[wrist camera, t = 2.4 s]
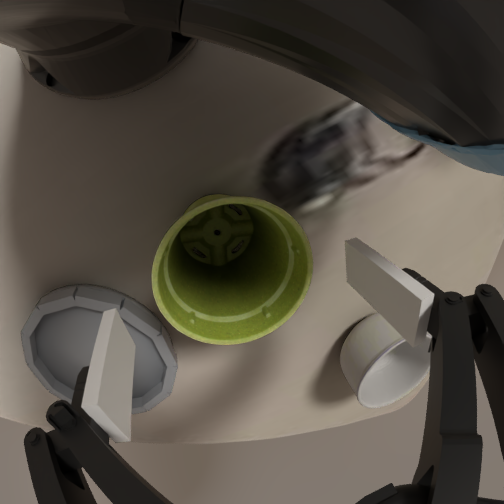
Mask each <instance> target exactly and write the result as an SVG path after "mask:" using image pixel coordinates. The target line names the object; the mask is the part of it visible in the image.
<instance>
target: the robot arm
mask: <svg viewBox="0 0 504 504" xmlns="http://www.w3.org/2000/svg"><path fill="white" fill-rule="evenodd" d="M198 39H200V40H203V41H207V42H211V43H214V44H218V45H221V46H225V47H228V48H231V49H235V50H238V51H241V52H244V53H247V54H250V55H253V56H256V57H258V58H261V59H264V60H267V61H269V62H272V63H275V64H277V65H280V66H282V67H285V68H287V69H290V70H292V71H295V72H297V73H299V74H302V75H304V76H306V77H309V78H311V79H313V80H315V81H317V82H320V83H322V84H324V85H326V86H328V87H330V88H332V89H334V90H336V91H338V92H339V93H341V94H343V95H345V96H347V97H349V98H351V99H352V100H354V101H356V102H358V103H360V104H361V105H363V106H365V107H366V108H368V109H370V111H371V112H372V113H373V114H374V115H375V116H377V117H378V118H379V119H380V120H382V121H383V122H385V123H387V124H388V125H390V126H391V127H392V128H393V129H395V130H397V131H398V132H399V133H401V134H403V135H405V136H407V137H409V138H411V139H414V140H417V141H420V142H422V143H425V144H428V145H431V146H433V147H434V148H436V149H437V150H439V151H440V152H442V153H444V154H445V155H447V156H448V157H450V158H452V159H454V160H455V161H457V162H459V163H461V164H463V165H465V166H468V167H471V168H473V169H476V170H480V171H483V172H486V173H493V174H497V175H501V176H504V0H0V43H2V44H4V45H7V46H10V47H12V48H16V50H17V52H18V54H19V56H20V58H21V60H22V61H23V63H24V65H25V67H26V69H27V70H28V72H29V73H30V74H31V75H32V77H33V78H34V79H35V80H37V81H38V82H39V83H40V84H42V85H43V86H44V87H46V88H48V89H50V90H52V91H54V92H57V93H59V94H63V95H67V96H71V97H75V98H81V99H104V98H111V97H116V96H120V95H124V94H127V93H130V92H133V91H135V90H138V89H140V88H142V87H144V86H146V85H148V84H150V83H152V82H154V81H156V80H157V79H159V78H160V77H162V76H163V75H165V74H166V73H168V72H169V71H170V70H171V69H173V68H174V67H175V66H176V65H177V64H178V63H179V62H180V61H181V60H182V59H183V58H184V57H185V56H186V55H187V54H188V53H189V52H190V50H191V49H192V48H193V47H194V45H195V44H196V42H197V41H198ZM345 251H346V272H347V282H348V283H349V284H350V285H351V286H352V287H353V288H354V289H355V290H356V291H357V292H358V293H359V294H360V295H361V296H362V297H363V298H364V299H365V300H366V301H367V302H368V303H369V304H370V305H371V306H372V307H373V308H374V309H375V310H376V311H377V312H378V313H379V314H380V315H381V316H382V317H383V318H384V319H385V320H386V321H387V322H388V323H389V324H390V325H391V326H392V327H393V328H394V329H395V330H396V331H397V332H398V333H399V334H400V335H401V336H402V337H403V338H404V339H405V340H406V341H407V342H408V343H409V344H410V345H411V346H412V347H415V346H417V345H419V344H421V343H422V342H424V341H425V339H426V334H427V332H428V333H429V334H431V335H432V338H431V342H430V346H429V349H428V352H429V353H430V377H429V392H428V403H427V413H426V421H425V429H424V436H423V442H422V449H421V454H420V459H419V464H418V467H417V470H416V472H415V475H414V478H413V481H412V484H406V485H399V486H395V487H394V486H393V484H392V483H390V484H388V485H386V486H385V487H383V488H381V489H379V490H377V491H375V492H373V493H371V494H369V495H367V496H365V497H364V498H362V499H361V500H360V501H358V502H357V503H356V504H504V501H502V500H494V499H487V498H480V497H478V490H479V482H480V473H481V462H482V446H483V443H482V437H481V435H478V434H477V397H476V396H477V395H476V376H475V364H474V360H475V362H476V365H477V368H478V370H479V373H480V376H481V379H482V382H483V385H484V388H485V391H486V394H487V398H488V401H489V404H490V408H491V411H492V414H493V418H494V422H495V426H496V430H497V434H498V438H499V443H500V447H501V452H502V456H503V459H504V300H503V298H502V297H501V295H500V294H499V292H498V291H497V290H496V288H494V287H493V286H491V285H488V284H481V285H478V286H477V287H476V289H475V294H474V295H470V296H466V297H463V296H462V295H461V294H459V293H457V292H445V293H444V292H443V291H442V290H440V289H439V288H438V287H436V286H435V285H433V284H432V283H431V282H429V281H428V280H426V279H425V278H424V277H421V275H420V274H418V273H417V272H415V271H414V270H411V269H408V268H404V269H400V268H399V267H397V266H396V265H395V264H393V263H392V262H391V261H389V260H388V259H386V258H385V257H384V256H382V255H381V254H379V253H378V252H376V251H375V250H374V249H372V248H371V247H369V246H368V245H366V244H365V243H363V242H362V241H360V240H359V239H358V238H353V239H350V240H346V241H345ZM135 348H136V345H135V343H134V342H133V340H132V338H131V336H130V334H129V332H128V330H127V329H126V327H125V325H124V323H123V321H122V319H121V317H120V315H119V313H118V311H117V309H116V308H114V309H111V310H107V311H104V313H103V316H102V320H101V323H100V327H99V331H98V334H97V338H96V342H95V346H94V350H93V354H92V358H91V362H90V366H86V367H83V368H82V369H81V371H80V372H79V374H78V376H77V380H76V385H75V389H74V390H75V391H74V393H73V398H72V402H71V404H70V403H69V402H68V401H66V400H59V401H56V402H55V403H53V404H52V405H51V406H50V407H49V409H48V411H47V414H46V418H47V421H48V422H49V423H50V424H51V425H52V426H53V427H54V428H55V430H52V431H50V432H48V433H46V432H44V431H43V430H42V429H41V428H37V427H36V428H33V429H31V430H30V431H29V432H28V433H27V434H26V436H25V439H24V446H25V452H26V457H27V462H28V465H29V471H30V474H31V479H32V483H33V487H34V490H35V494H36V497H37V500H38V503H39V504H97V503H96V501H95V499H94V497H93V495H92V492H91V490H90V488H89V486H88V483H87V481H86V479H85V476H84V474H83V472H82V469H81V468H82V467H83V468H84V469H85V471H86V472H87V473H88V474H89V476H90V477H91V478H92V479H93V481H94V482H95V483H96V484H97V486H98V487H99V488H100V489H101V490H102V492H103V493H104V494H105V495H106V496H107V497H108V498H109V499H110V501H111V502H112V503H113V504H173V503H171V502H170V501H169V500H168V499H167V498H165V497H164V496H163V495H162V494H161V493H159V492H158V491H157V490H156V489H155V488H154V487H153V486H151V485H150V484H149V483H148V482H147V481H146V480H145V479H144V478H143V477H141V476H140V475H139V474H138V473H137V472H136V471H135V470H134V469H133V468H132V467H131V466H130V465H129V464H128V463H127V462H126V461H125V460H124V459H123V458H122V457H121V456H120V455H119V454H118V453H117V452H116V451H115V450H114V449H113V447H111V446H110V445H109V437H110V438H111V439H112V440H113V441H114V442H115V443H120V442H129V441H131V410H132V388H133V373H134V360H135Z"/></svg>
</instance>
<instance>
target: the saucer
mask: <svg viewBox="0 0 504 504" xmlns="http://www.w3.org/2000/svg"><path fill="white" fill-rule="evenodd" d="M114 308H116V309H117V311H118V313H119V315H120V317H121V319H122V321H123V323H124V325H125V327H126V329H127V330H128V332H129V334H130V336H131V338H132V340H133V342H134V343H135V345H136V348H135V360H134V373H133V388H132V410H131V414H137V413H142V412H147V411H149V410H150V409H152V408H153V407H155V406H156V405H157V404H159V403H160V402H161V401H163V400H164V399H165V398H167V397H168V396H169V395H170V393H172V389H173V384H174V380H175V376H176V372H177V368H178V365H177V355H176V353H175V351H174V348H173V344H172V341H171V338H170V336H169V334H168V332H167V330H166V328H165V327H164V325H163V324H162V323H161V321H160V320H159V319H158V318H157V317H156V316H155V315H154V314H153V313H152V312H151V311H150V310H149V309H148V308H146V307H145V306H144V305H142V304H141V303H139V302H138V301H136V300H135V299H133V298H131V297H129V296H127V295H125V294H123V293H121V292H118V291H116V290H113V289H110V288H106V287H102V286H96V285H86V284H78V285H69V286H65V287H61V288H59V289H56V290H54V291H52V292H50V293H49V294H47V295H46V296H44V297H42V299H40V301H39V302H38V304H37V305H36V307H35V308H34V310H33V312H32V313H31V315H30V317H29V319H28V320H27V322H26V324H25V325H24V327H23V329H22V331H21V338H22V344H23V350H24V355H25V360H26V363H27V365H28V367H29V368H30V369H31V371H32V372H33V373H34V375H35V376H36V377H37V378H38V380H39V381H40V382H41V383H42V385H43V386H44V387H45V388H46V389H47V390H49V392H50V393H52V394H53V395H55V396H57V397H58V398H60V399H62V400H66V401H68V402H69V403H70V404H71V402H72V398H73V393H74V391H75V390H74V389H75V385H76V380H77V376H78V374H79V372H80V371H81V369H82V368H83V367H86V366H90V362H91V358H92V354H93V350H94V346H95V342H96V338H97V334H98V331H99V327H100V323H101V320H102V316H103V313H104V311H107V310H111V309H114Z"/></svg>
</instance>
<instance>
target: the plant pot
mask: <svg viewBox="0 0 504 504" xmlns="http://www.w3.org/2000/svg"><path fill="white" fill-rule="evenodd" d="M229 204H233V205H234V206H235V207H236V208H239V209H240V210H241V212H242V214H241V215H238V213H237V212H236V211H235V210H233V209H232V208H230V207H229V206H228V205H229ZM193 217H194V218H193ZM192 218H193V220H192V221H189V220H191V219H192ZM217 229H218V230H219V231H220V234H219V235H215V233H214V231H215V230H217ZM242 240H243V244H242V246H241V248H240V249H239V250H238V251H237V252H235V253H232V250H233V249H234V248H235V247H236V246H237V245H238V244H239V243H241V241H242ZM194 247H195V248H196V249H197V250H199V251H200V252H201V253H202V254H204V255H206V257H204V258H203V257H201V256H199V255H197V254H196V253H195V252H194V251H193V248H194ZM312 273H313V257H312V251H311V247H310V243H309V240H308V238H307V236H306V234H305V232H304V230H303V229H302V227H301V226H300V225H299V223H298V222H297V221H296V220H295V219H294V218H293V217H292V216H291V215H290V214H288V213H287V212H286V211H284V210H283V209H281V208H280V207H278V206H276V205H274V204H272V203H270V202H268V201H265V200H262V199H257V198H253V197H245V196H228V195H223V194H215V195H209V196H205V197H202V198H200V199H198V200H197V201H195V202H194V203H192V204H191V205H190V206H189V207H188V208H187V210H186V211H185V213H184V215H183V216H181V217H180V218H179V219H178V220H177V221H176V222H175V223H174V224H173V225H172V226H171V227H170V229H169V230H168V231H167V232H166V234H165V236H164V237H163V239H162V241H161V243H160V245H159V247H158V249H157V252H156V255H155V257H154V261H153V265H152V275H151V282H152V290H153V295H154V298H155V301H156V304H157V306H158V308H159V310H160V312H161V313H162V314H163V316H164V317H165V318H166V320H167V321H168V322H169V323H170V324H171V325H172V326H173V327H174V328H176V329H177V330H178V331H179V332H181V333H183V334H185V335H186V336H188V337H190V338H192V339H195V340H197V341H201V342H204V343H210V344H218V345H232V344H241V343H246V342H249V341H252V340H255V339H258V338H261V337H263V336H265V335H267V334H269V333H271V332H272V331H274V330H276V329H277V328H278V327H280V326H281V325H283V324H284V323H285V322H286V321H287V320H288V319H289V318H290V317H291V316H292V315H293V314H294V312H295V311H296V310H297V309H298V307H299V306H300V305H301V303H302V301H303V299H304V298H305V295H306V293H307V291H308V288H309V286H310V283H311V278H312Z"/></svg>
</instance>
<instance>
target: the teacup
mask: <svg viewBox="0 0 504 504" xmlns="http://www.w3.org/2000/svg"><path fill="white" fill-rule="evenodd" d="M431 338H432V335H431V334H429V333H428V332H427V334H426V339H425V341H424V342H422V343H421V344H419V345H417V346H415V347H412V346H411V345H410V344H409V343H408V342H407V341H406V340H405V339H404V338H403V337H402V336H401V335H400V334H399V333H398V332H397V331H396V330H395V329H394V328H393V327H392V326H391V325H390V324H389V323H388V322H387V321H386V320H385V319H384V318H383V317H382V316H381V315H380V314H379V313H375V314H373V315H371V316H369V317H367V318H365V319H363V320H362V321H361V322H359V323H358V324H357V325H356V326H355V327H354V328H353V330H352V331H351V332H350V334H349V335H348V337H347V338H346V340H345V342H344V344H343V346H342V349H341V354H340V364H341V368H342V371H343V374H344V376H345V378H346V379H347V381H348V383H349V385H350V386H351V388H352V390H353V391H354V393H355V394H356V396H357V399H358V401H359V403H360V404H361V405H362V406H364V407H367V408H379V407H383V406H387V405H389V404H392V403H394V402H395V401H397V400H399V399H401V398H402V397H404V396H405V395H407V394H408V393H409V392H411V391H412V390H413V389H414V388H415V387H416V386H417V385H418V384H419V383H420V382H421V381H422V380H423V378H424V377H425V376H426V375H427V373H428V372H429V370H430V353H429V352H428V349H429V346H430V342H431Z"/></svg>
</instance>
